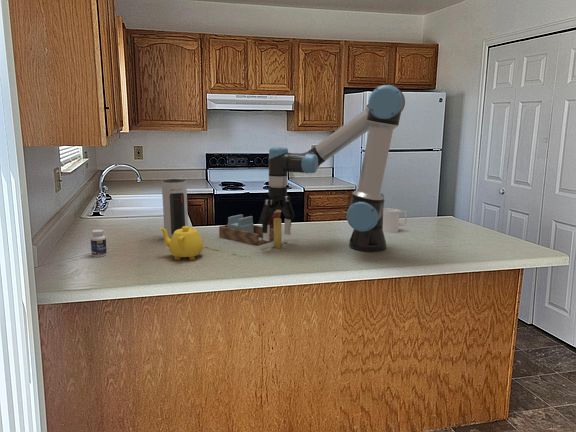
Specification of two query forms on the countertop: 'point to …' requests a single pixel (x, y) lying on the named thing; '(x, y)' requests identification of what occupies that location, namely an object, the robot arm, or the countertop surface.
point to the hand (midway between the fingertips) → (277, 237)
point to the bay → (245, 235)
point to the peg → (277, 232)
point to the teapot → (184, 242)
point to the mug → (275, 215)
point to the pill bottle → (98, 243)
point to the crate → (241, 223)
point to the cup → (392, 220)
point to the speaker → (174, 205)
